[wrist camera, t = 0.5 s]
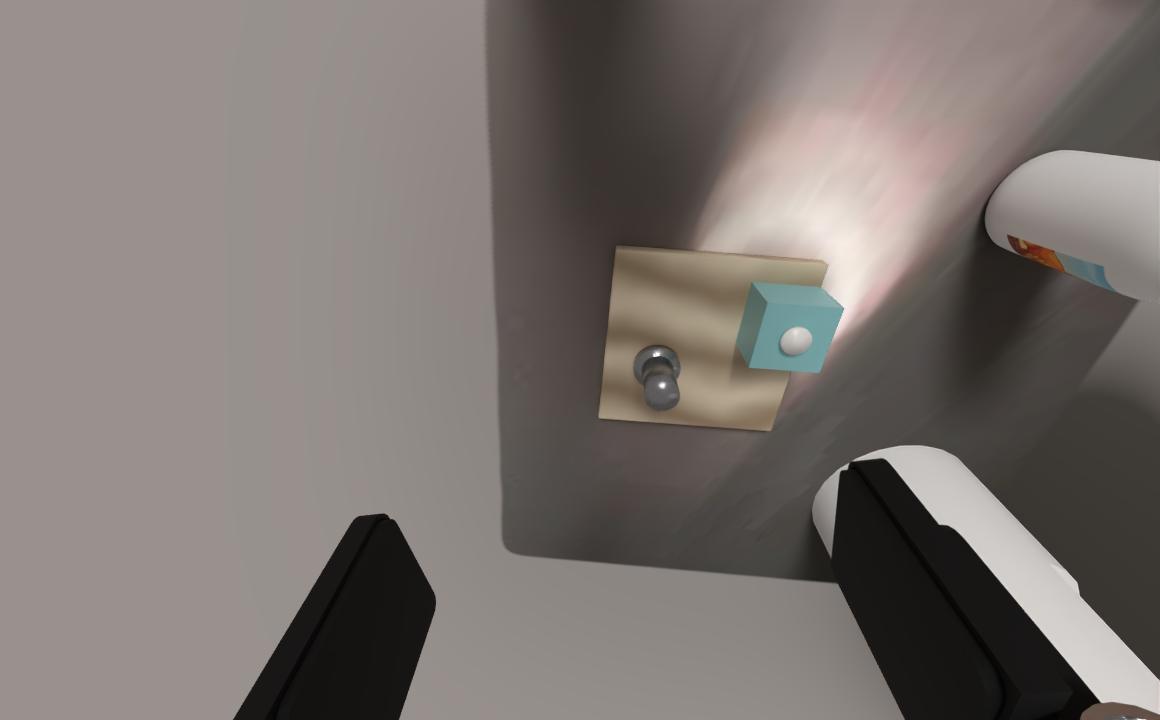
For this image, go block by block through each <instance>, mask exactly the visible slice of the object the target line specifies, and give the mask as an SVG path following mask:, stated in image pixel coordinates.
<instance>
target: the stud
mask: <svg viewBox="0 0 1160 720" xmlns="http://www.w3.org/2000/svg"><path fill="white" fill-rule="evenodd" d="M633 367H634V375H635V378H636V379H637V381H638V382H639V383H640V384H641V385H643V387H644V394H645V400H646V403H647V405H648V406H649V407H650V408H652V409H654V410H656V411H667V410H670V409H672V408H674V407H675V406H676V405H677V404H678V402H679V400H680V392H679V388H678V384H677V378H678V377H679V375H680V371H681V366H680V362H679V358H678V356H677V354H676V353H675V351H674V350H672V349H671V348H669V347H667V346H665V345H650V346H647V347H645V348H644V349H642V350H641V351H640V352H639V353H638V354H637V355H636V357H635V359H634V363H633Z"/></svg>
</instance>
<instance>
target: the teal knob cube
mask: <svg viewBox="0 0 1160 720" xmlns="http://www.w3.org/2000/svg"><path fill="white" fill-rule="evenodd" d="M843 310H844V308H843V307H842V306H841V305H840V304H839V303H838V302H837V301H836V300H835V299H833V298H832V297H831V296H830V295H829V294H828V293H827V292H826V291H825V290H824V289H822V288H821V287H814V286H800V285H787V284H773V283H759V282H752V283H751V287H750V290H749V294H748V298H747V302H746V305H745V309H744V313H743V317H742V321H741V324H740V328H739V332H738V336H737V339H736V344H737V346H738V348H739V350H740V352H741V354H742V356H743V358H744V359H745V361H746V363H747V365H748V367H749V368H760V369H773V370H787V371H800V372H813V373H820V370H821V367H822V365H823V362H824V360H825V357H826V354H827V352H828V349H829V347H830V344H831V341H832V339H833V336H834V334H835V331H836V328H837V326H838V323H839V321H840V318H841V315H842V313H843Z"/></svg>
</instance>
